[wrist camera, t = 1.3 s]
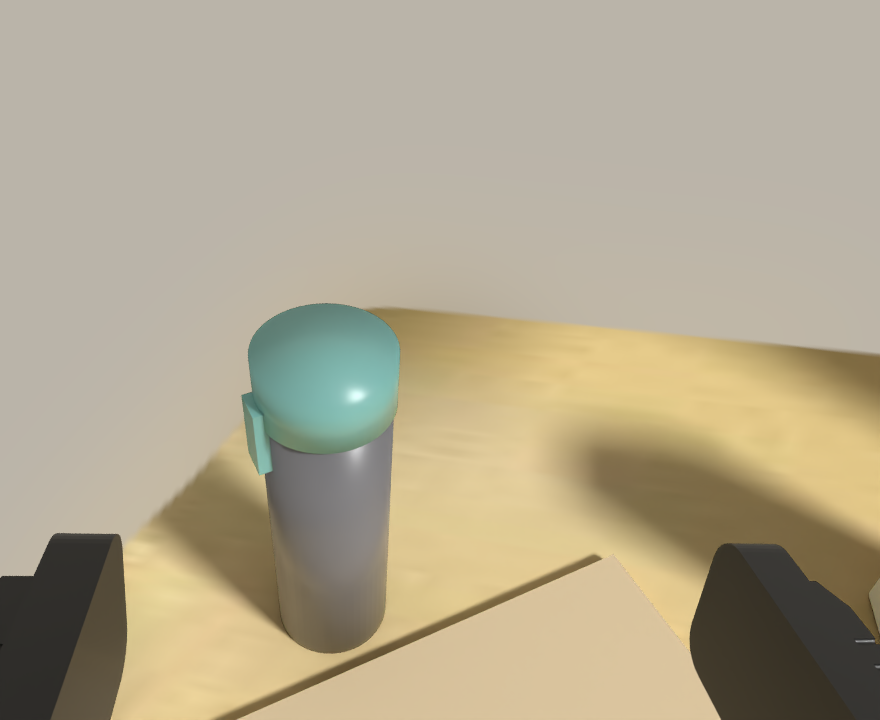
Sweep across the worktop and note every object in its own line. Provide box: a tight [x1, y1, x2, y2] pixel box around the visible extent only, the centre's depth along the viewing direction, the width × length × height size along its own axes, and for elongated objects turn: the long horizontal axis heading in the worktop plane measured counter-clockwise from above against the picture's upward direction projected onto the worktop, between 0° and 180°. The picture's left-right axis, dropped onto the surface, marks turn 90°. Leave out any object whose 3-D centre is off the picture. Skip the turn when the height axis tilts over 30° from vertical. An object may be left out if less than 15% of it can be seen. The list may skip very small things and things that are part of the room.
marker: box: [242, 303, 400, 653], centre depth 27 cm, size 4×4×13 cm
